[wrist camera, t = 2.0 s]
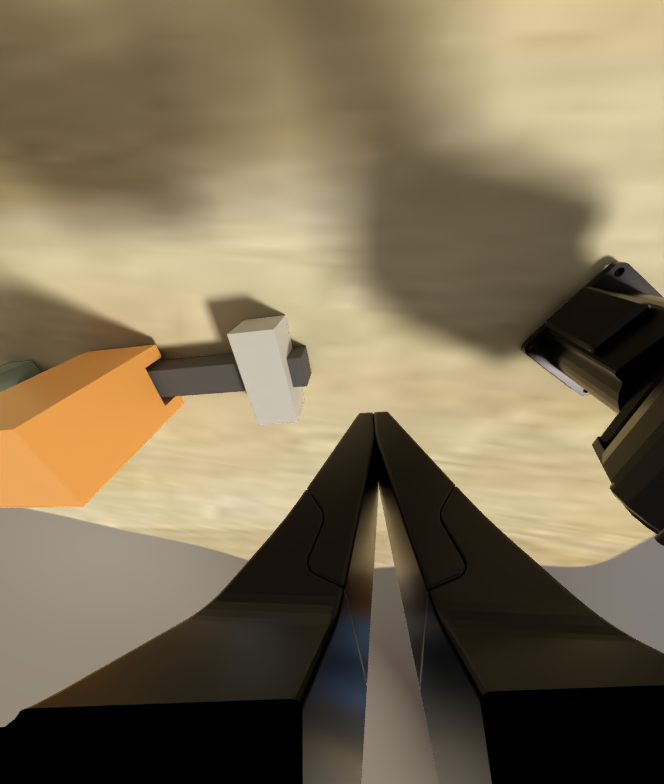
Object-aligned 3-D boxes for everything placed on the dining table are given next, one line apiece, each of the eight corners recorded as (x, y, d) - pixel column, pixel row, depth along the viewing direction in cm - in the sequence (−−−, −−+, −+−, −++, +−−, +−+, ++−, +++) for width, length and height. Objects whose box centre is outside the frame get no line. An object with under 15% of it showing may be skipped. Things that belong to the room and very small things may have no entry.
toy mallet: (299, 313, 19) (281, 339, 15) (316, 399, 22) (306, 440, 18) (-5, 348, 23) (-89, 377, 18) (51, 417, 26) (-9, 455, 22)
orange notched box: (155, 344, 20) (12, 429, 12) (184, 403, 23) (83, 506, 15) (85, 351, 21) (-94, 436, 13) (121, 407, 24) (-9, 507, 16)
